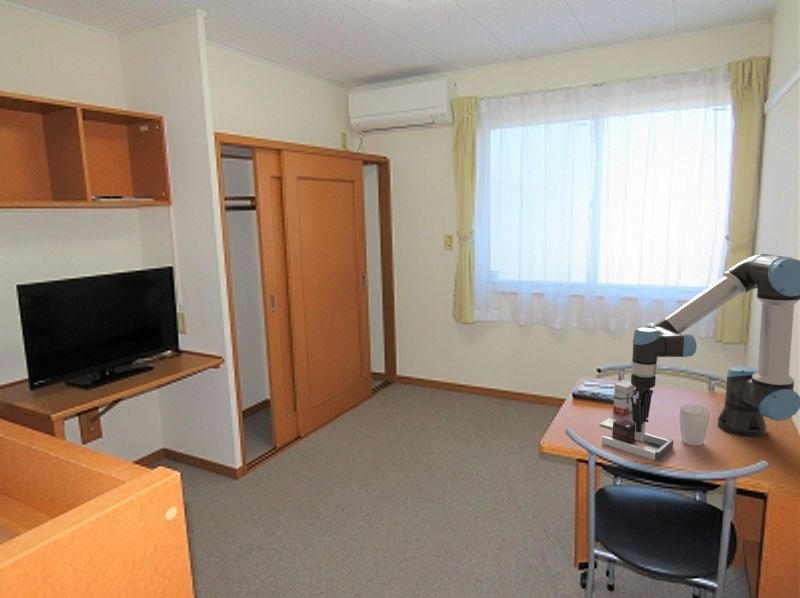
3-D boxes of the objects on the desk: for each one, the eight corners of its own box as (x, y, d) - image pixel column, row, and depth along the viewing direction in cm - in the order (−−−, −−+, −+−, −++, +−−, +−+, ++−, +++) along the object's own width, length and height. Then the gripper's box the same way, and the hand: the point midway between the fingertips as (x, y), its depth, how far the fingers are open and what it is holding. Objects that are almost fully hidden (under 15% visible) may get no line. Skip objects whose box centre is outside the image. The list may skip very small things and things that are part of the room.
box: (619, 436, 191) (620, 417, 190) (636, 441, 187) (637, 422, 185) (611, 441, 187) (612, 422, 186) (628, 447, 183) (629, 427, 181)
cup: (706, 449, 179) (709, 416, 177) (676, 444, 184) (678, 411, 182) (707, 439, 187) (710, 407, 185) (678, 434, 192) (681, 402, 190)
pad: (626, 424, 201) (626, 423, 200) (617, 430, 196) (618, 429, 196) (608, 419, 206) (608, 418, 205) (599, 425, 201) (599, 423, 201)
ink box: (625, 415, 209) (626, 387, 207) (612, 412, 213) (614, 384, 210) (634, 409, 215) (635, 381, 213) (622, 406, 218) (623, 379, 216)
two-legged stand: (672, 448, 181) (673, 439, 181) (657, 461, 172) (658, 452, 172) (618, 431, 195) (618, 424, 194) (601, 443, 186) (602, 435, 185)
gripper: (640, 367, 185) (636, 430, 190) (624, 376, 177) (620, 442, 181) (662, 371, 180) (657, 436, 184) (647, 381, 171) (642, 449, 175)
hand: (639, 439), depth 183 cm, fingers closed
